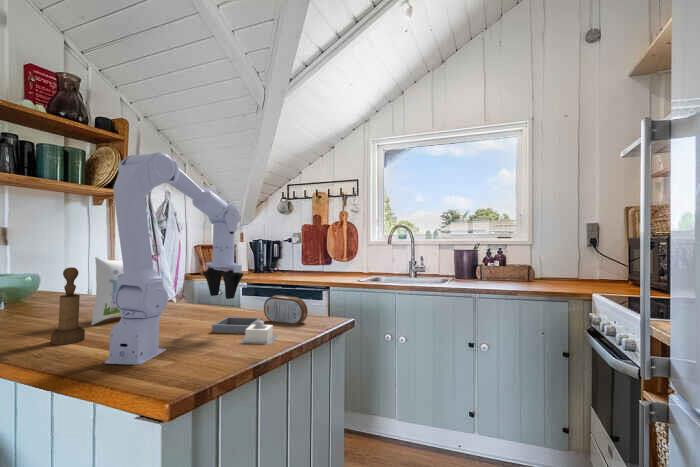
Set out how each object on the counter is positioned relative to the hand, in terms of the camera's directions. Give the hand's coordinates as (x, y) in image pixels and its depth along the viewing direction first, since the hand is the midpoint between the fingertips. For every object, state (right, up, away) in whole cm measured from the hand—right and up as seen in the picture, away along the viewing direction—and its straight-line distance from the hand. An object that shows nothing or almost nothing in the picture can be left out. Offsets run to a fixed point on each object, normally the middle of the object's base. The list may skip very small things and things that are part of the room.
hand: (222, 297), depth 101 cm
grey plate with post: (+12, -10, -8) cm, 18 cm away
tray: (+4, -10, +2) cm, 11 cm away
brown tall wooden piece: (-34, -9, -12) cm, 37 cm away
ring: (+12, -9, -8) cm, 18 cm away
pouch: (-36, -10, +13) cm, 40 cm away
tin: (+15, -11, +13) cm, 23 cm away
